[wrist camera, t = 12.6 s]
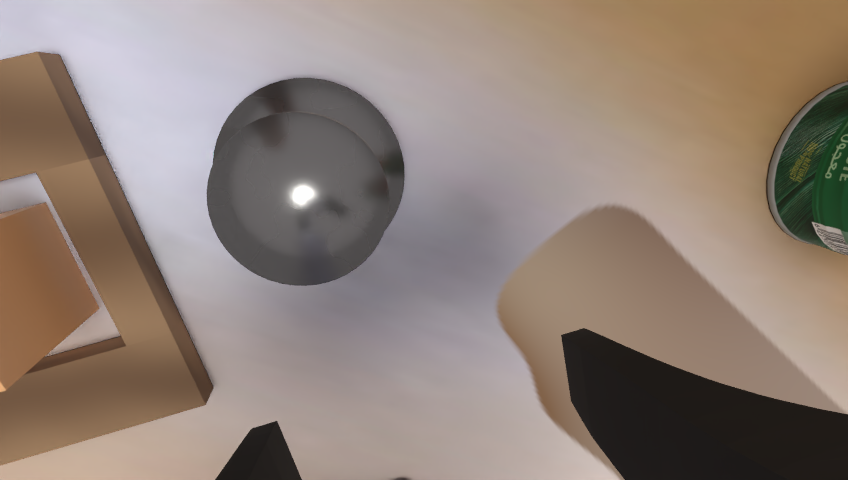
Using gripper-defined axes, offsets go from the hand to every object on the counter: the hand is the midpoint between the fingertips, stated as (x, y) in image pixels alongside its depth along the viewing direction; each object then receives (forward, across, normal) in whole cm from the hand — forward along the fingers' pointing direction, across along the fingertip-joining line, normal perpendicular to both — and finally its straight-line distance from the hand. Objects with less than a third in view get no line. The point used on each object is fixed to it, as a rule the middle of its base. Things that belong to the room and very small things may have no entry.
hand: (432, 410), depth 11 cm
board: (+9, +14, -4) cm, 17 cm away
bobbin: (+9, +2, -5) cm, 11 cm away
